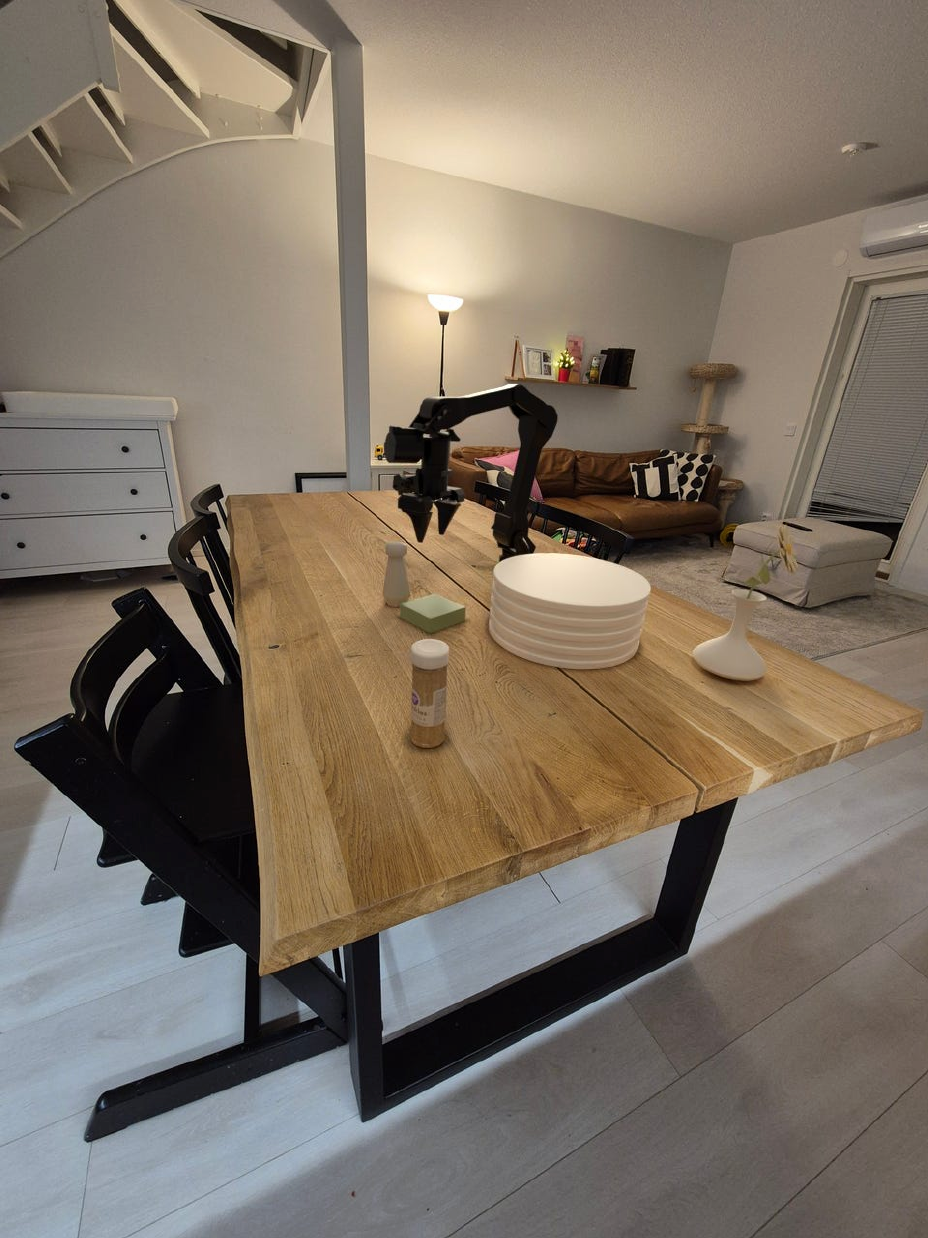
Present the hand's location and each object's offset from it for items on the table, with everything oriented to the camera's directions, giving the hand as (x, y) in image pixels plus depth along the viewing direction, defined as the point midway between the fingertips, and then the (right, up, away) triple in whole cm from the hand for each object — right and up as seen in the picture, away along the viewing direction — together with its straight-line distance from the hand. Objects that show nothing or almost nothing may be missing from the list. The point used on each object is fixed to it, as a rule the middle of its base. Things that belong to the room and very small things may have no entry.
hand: (430, 538), depth 109 cm
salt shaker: (-7, -14, -4) cm, 17 cm away
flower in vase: (+53, -26, -23) cm, 63 cm away
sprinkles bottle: (+2, -33, -44) cm, 55 cm away
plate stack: (+26, -20, -13) cm, 35 cm away
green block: (+1, -18, -10) cm, 21 cm away
